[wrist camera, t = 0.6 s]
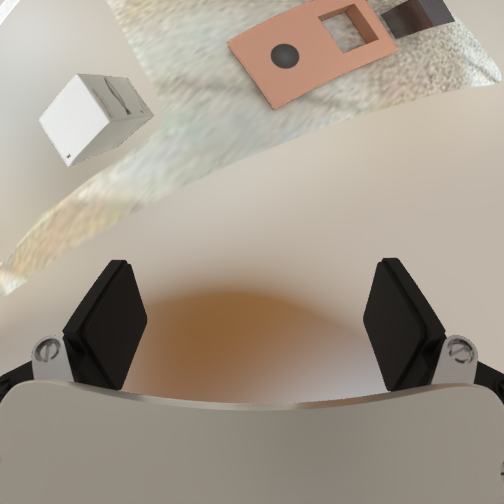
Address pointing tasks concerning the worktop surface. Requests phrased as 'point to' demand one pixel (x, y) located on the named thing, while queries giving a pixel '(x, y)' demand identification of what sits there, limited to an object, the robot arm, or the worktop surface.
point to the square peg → (416, 16)
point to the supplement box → (93, 116)
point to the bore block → (307, 48)
